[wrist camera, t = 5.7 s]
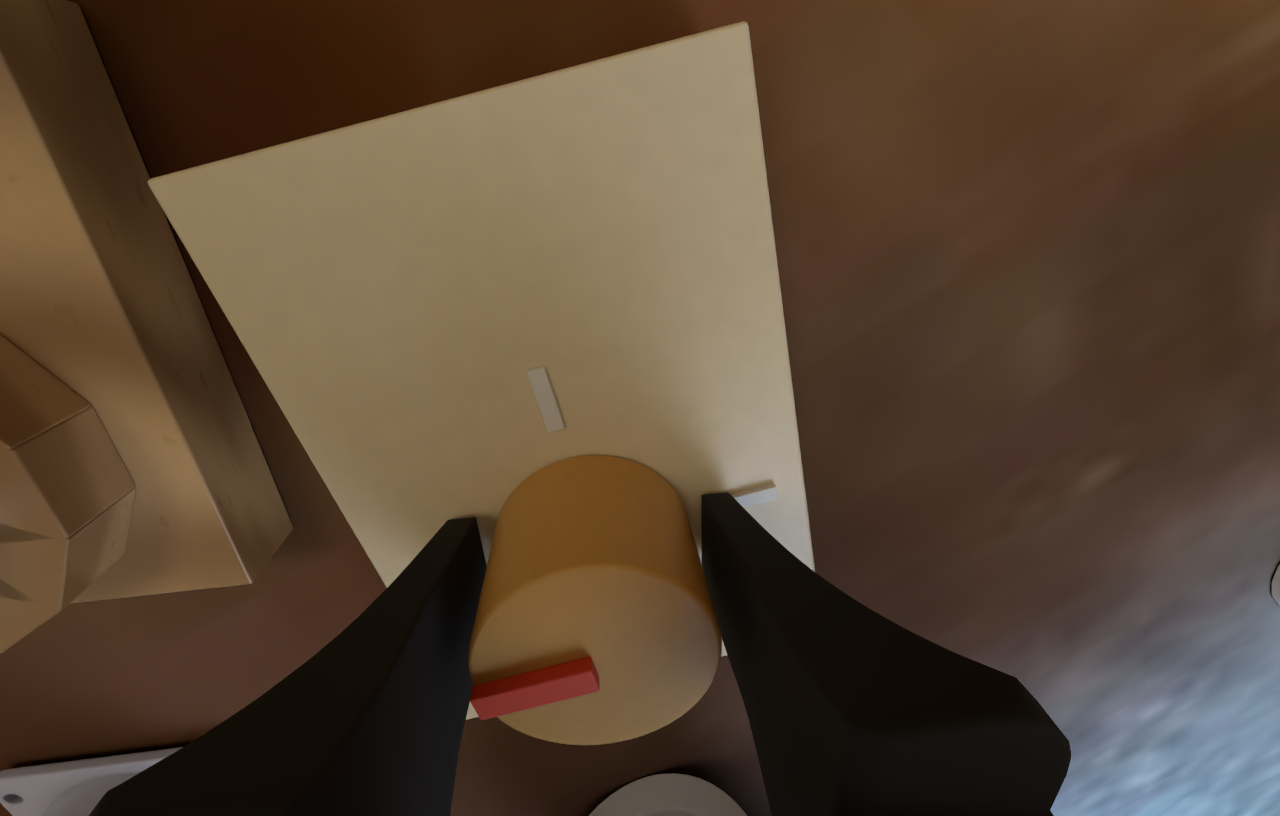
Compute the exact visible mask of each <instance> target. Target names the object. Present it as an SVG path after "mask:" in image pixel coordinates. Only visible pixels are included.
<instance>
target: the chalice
mask: <svg viewBox="0 0 1280 816" xmlns="http://www.w3.org/2000/svg"><path fill="white" fill-rule="evenodd" d="M1272 596H1273V598H1274V599H1275V601H1276V602H1277V604H1278V605H1280V564H1279V566H1278V568H1277V571H1276V573H1275V575H1274V578H1273V580H1272Z"/></svg>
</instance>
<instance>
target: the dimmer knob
mask: <svg viewBox="0 0 1280 816" xmlns="http://www.w3.org/2000/svg"><path fill="white" fill-rule="evenodd" d="M721 654H722V638H721V631H720V627H719V624H718V620H717V617H716V613H715V610H714V606H713V603H712V599H711V596H710V592H709V589H708V585H707V582H706V578H705V575H704V571H703V568H702V564H701V561H700V557H699V554H698V550H697V547H696V543H695V540H694V536H693V533H692V529H691V526H690V522H689V519H688V515H687V512H686V509H685V506H684V504H683V502H682V500H681V498H680V497H679V495H678V494H677V492H676V491H675V490H674V488H673V487H672V486H671V485H670V484H669V483H668V482H667V481H666V480H665V479H664V478H662V477H661V476H660V475H658V474H657V473H656V472H654V471H653V470H651V469H649V468H647V467H645V466H644V465H641V464H639V463H636V462H634V461H631V460H627V459H624V458H620V457H614V456H607V455H587V456H577V457H572V458H567V459H564V460H561V461H558V462H554V463H552V464H550V465H548V466H545V467H543V468H541V469H540V470H538V471H536V472H535V473H533V474H531V475H530V476H529V477H527V478H526V479H525V480H524V481H523V482H521V483H520V484H519V485H518V486H517V487H516V488H515V489H514V490H513V491H512V493H511V494H510V495H509V497H508V498H507V500H506V501H505V503H504V505H503V507H502V509H501V511H500V513H499V516H498V520H497V523H496V527H495V532H494V536H493V541H492V545H491V550H490V554H489V559H488V563H487V568H486V572H485V577H484V581H483V586H482V590H481V595H480V599H479V604H478V608H477V613H476V617H475V622H474V626H473V630H472V635H471V639H470V644H469V651H468V669H469V673H470V677H471V681H472V684H473V687H472V691H471V696H470V702H471V704H472V706H473V707H474V709H475V711H476V713H477V714H478V716H479V718H480V720H486V719H490V718H494V717H497V718H499V719H500V720H501V721H502V722H504V723H506V724H507V725H509V726H510V727H512V728H514V729H516V730H518V731H520V732H522V733H524V734H526V735H529V736H532V737H535V738H538V739H542V740H546V741H550V742H555V743H562V744H570V745H600V744H609V743H616V742H621V741H626V740H630V739H633V738H637V737H640V736H643V735H646V734H648V733H651V732H653V731H656V730H658V729H660V728H662V727H664V726H666V725H668V724H670V723H671V722H673V721H674V720H676V719H678V718H679V717H681V716H682V715H683V714H684V713H686V712H687V711H688V710H690V709H691V708H692V707H693V706H694V705H695V704H696V703H697V702H698V701H699V700H700V699H701V698H702V696H703V695H704V694H705V693H706V691H707V690H708V688H709V687H710V685H711V683H712V682H713V680H714V678H715V675H716V673H717V670H718V668H719V663H720V658H721Z"/></svg>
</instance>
